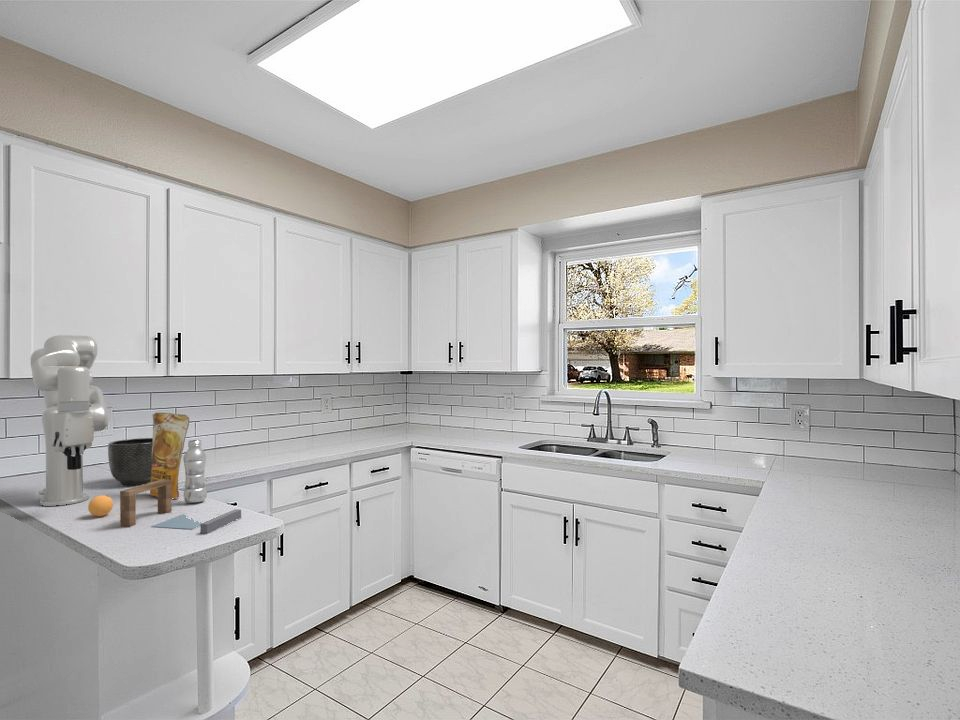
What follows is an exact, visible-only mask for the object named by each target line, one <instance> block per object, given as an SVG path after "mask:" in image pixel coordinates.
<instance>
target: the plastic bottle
mask: <svg viewBox="0 0 960 720" xmlns="http://www.w3.org/2000/svg"><path fill="white" fill-rule="evenodd" d="M187 447H188V449H187V450H186V452H185V453H184V454H183V458H182V459H183V464H184V471H185V483H184V484H185V485H184V491H183V499H184V500H183V501H184V502H185V503H186V504H198V503H201V502H203V501H205V500H206V498H207V494H208V491H207V486H206V481H205V467H206V461H207V460H206V458H207V454H206V453H205V451H204V449H202V440H201V439H192V440H188V444H187ZM197 502H198V503H197Z"/></svg>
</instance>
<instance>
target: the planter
mask: <svg viewBox="0 0 960 720" xmlns="http://www.w3.org/2000/svg"><path fill="white" fill-rule="evenodd" d="M152 439H153V437H145V438H144V437H143V438H140V437H139V438H129V439H121V440H115V441H110V442H109V443H107V459H108V465H109V471H110V473H111V476H112V477H113V478H114V479H115V480H116V481H117V482H120V484H121V486H122V485H123V487H137V486H136V485H139V486H141V485H142V484H147V483H151V471H152V445H153V443H152Z"/></svg>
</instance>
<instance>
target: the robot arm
mask: <svg viewBox="0 0 960 720" xmlns="http://www.w3.org/2000/svg"><path fill="white" fill-rule="evenodd" d="M98 349H99V348H98V343H97V342H96V340H95V339H94V338H93V337H92V336H88V335H71V334H70V335H66V334H62V335H61V334H60V335H59V334H58V335H53V336H50V337H49V338H47V339H46V340H45V342H44V343H43V348H38V349H36V350H35V351H33V352H32V354H31V356H30V361H29V362H30V368H31V375H32V376H31V377H32V380H33V385H34V387H35V389H37V390H38V391H41V392H43V400H44V404H45V407H46V409H45V410H43V412H42V415H41V421H42V422H41V424H42V428H43V432H44V440H45V442H44V443H45V487H44V488H43V489H42V490H39V492H38V495H39V496H40V495H41V496H42V495H43V499H41V500H39V505H40V506H42V505H43V506H42V507H56V505H59V506H65V505H66V504H67V505H72V504H77V503H81V502H84V501H86V500H88V499H89V498H90V495H89V494H88V493H84V467H83V463H84V460H83V458H84V456H83V455H84V452H85V450H86V449H88V448H91V447H92V446H93V443H92V442H94V437H95V432H101V431H103V430H105V429H106V428H107V426H108V424H109V421H110V420H109V418H110V417H109V412H108V407H107V404H106V400H105V396H104V394H103V391H102V389H101V388H100V387H98V386H95V385H92V383H93V380H94V379H93V377H94V376H93V373H92V371H91V370H90V369H92V367H93V364H94V362H95V361H96V358H97V355H98Z"/></svg>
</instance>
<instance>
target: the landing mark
mask: <svg viewBox="0 0 960 720" xmlns="http://www.w3.org/2000/svg"><path fill="white" fill-rule="evenodd" d="M184 514H185V513H183V514H179V515H178V516H174V517H172V518H170V519H166V520H164V521H162V522H159V523H156V524H154V525H151V528H160V529H162V528H163V529H177V530H192V529H193V530H194V528H195V529H197V528H199V527H198V526H200V524H201V522H200V523H199V522H198V521H196V522H194V520H193V519H192V518H191V520H190V519H188V518H186V515H184ZM187 517H188V516H187ZM196 527H197V528H196Z"/></svg>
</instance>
